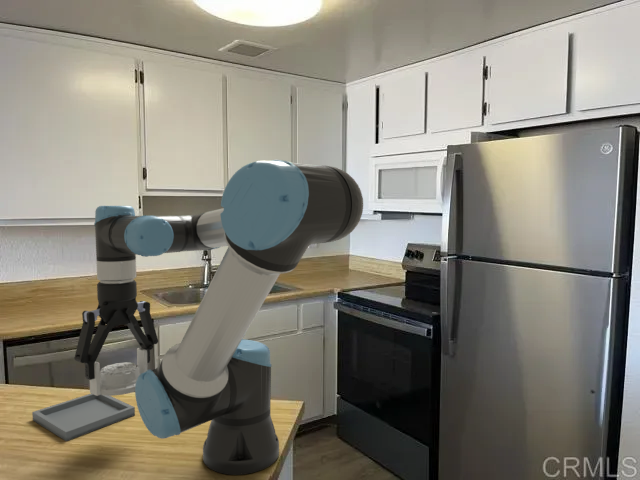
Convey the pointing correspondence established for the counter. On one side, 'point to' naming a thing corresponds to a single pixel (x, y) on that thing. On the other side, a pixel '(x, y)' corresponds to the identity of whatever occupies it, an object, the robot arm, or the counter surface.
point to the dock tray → (82, 415)
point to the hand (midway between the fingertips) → (119, 385)
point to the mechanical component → (118, 378)
